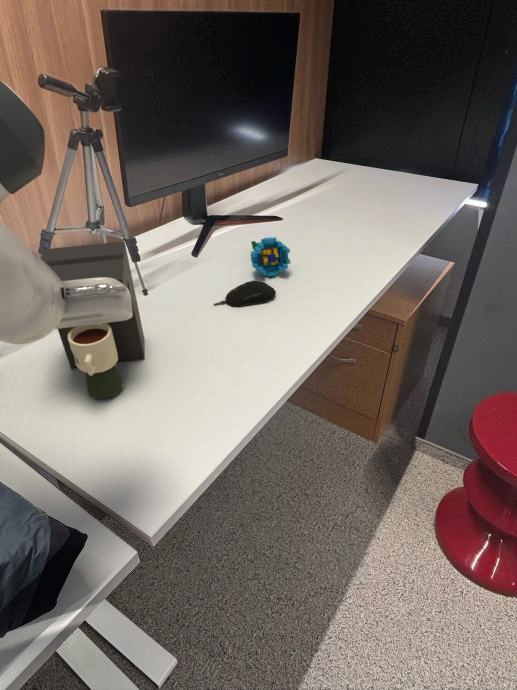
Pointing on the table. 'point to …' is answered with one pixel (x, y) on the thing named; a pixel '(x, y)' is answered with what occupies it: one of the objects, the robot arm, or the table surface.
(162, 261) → the table surface
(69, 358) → the dark brown box
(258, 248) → the toy flower
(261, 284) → the gaming mouse
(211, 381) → the table surface
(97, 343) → the character mug
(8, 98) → the robot arm
